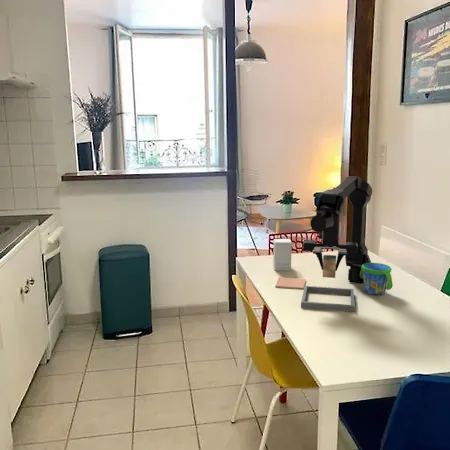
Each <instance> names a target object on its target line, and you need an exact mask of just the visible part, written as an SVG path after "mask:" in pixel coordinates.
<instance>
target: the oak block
mask: <svg viewBox="0 0 450 450" xmlns="http://www.w3.org/2000/svg"><path fill="white" fill-rule="evenodd" d="M322 257H323V270H322V278H329V279H330V278H333V279H336V272H337V271H336V262H337V255H333V254H332V255H330V254H323V255H322Z"/></svg>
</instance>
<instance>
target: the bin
mask: <svg viewBox="0 0 450 450" xmlns="http://www.w3.org/2000/svg"><path fill="white" fill-rule="evenodd" d="M318 292H320V293H321V294H332V293H334V294H335V295H348V296H350V304H345V303H330V302H318V301H317V302H316V301H306V298H307V295H308V293H318ZM320 293H319V294H320ZM355 304H356V303H355V291H354V288H345V287H344V288H343V287H342V288H341V287H330V286H329V287H327V286H315V285H305V286H304V289H303V292H302V297H301V301H300V308H302V309H303V308H304V309H314V310H325V311H326V310H327V311H338V312H339V311H341V312H354V313H355V309H356V308H355V307H356V306H355Z"/></svg>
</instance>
